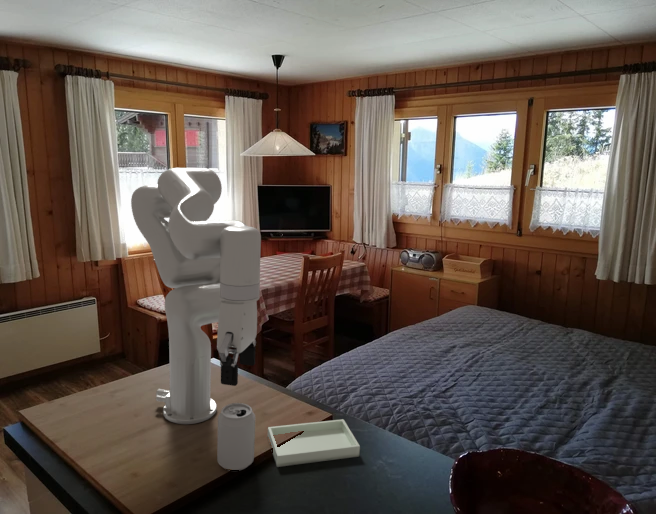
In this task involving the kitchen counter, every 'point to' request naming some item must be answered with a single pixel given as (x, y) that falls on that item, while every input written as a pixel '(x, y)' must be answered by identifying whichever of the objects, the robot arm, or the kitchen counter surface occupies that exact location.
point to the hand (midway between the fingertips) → (238, 373)
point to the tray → (314, 443)
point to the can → (236, 436)
